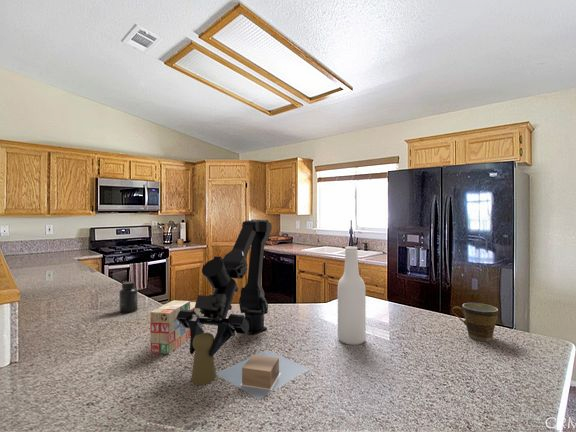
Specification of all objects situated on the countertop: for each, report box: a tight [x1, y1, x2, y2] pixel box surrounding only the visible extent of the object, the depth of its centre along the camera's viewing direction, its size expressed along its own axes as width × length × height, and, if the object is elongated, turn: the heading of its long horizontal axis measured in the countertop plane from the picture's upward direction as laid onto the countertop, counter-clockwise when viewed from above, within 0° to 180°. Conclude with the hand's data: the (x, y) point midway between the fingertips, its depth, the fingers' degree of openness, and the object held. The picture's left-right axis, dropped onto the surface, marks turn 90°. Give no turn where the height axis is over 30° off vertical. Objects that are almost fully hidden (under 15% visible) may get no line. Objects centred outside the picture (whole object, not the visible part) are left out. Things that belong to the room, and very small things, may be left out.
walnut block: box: [242, 354, 279, 389], centre depth 75 cm, size 7×7×4 cm
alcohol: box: [337, 245, 367, 346], centre depth 99 cm, size 9×9×30 cm
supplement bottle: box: [118, 281, 139, 314], centre depth 130 cm, size 7×7×12 cm
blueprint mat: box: [216, 349, 310, 400], centre depth 79 cm, size 18×16×1 cm
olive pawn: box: [190, 332, 217, 386], centre depth 76 cm, size 6×6×11 cm
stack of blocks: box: [149, 299, 204, 355], centre depth 101 cm, size 21×6×12 cm, turn 169°
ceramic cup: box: [451, 302, 499, 343], centre depth 101 cm, size 13×10×10 cm
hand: (200, 354), depth 75 cm, fingers closed on olive pawn, 5 cm apart
